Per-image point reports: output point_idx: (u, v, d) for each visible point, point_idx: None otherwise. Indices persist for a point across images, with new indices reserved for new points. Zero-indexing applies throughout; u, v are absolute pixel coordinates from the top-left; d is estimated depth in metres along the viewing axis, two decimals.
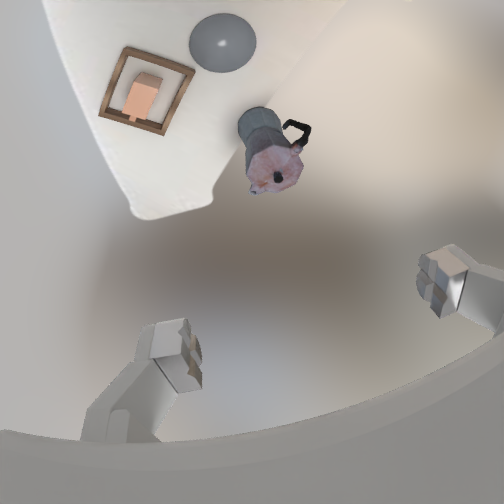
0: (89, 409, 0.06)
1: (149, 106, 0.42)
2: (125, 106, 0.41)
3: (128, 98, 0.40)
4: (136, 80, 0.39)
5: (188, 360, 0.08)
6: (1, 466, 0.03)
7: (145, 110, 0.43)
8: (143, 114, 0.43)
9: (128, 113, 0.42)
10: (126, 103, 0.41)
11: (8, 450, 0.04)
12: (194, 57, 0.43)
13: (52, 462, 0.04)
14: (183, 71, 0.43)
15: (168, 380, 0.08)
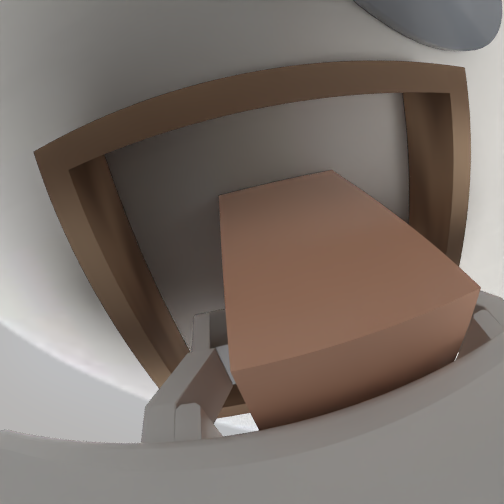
0: (147, 406, 0.06)
1: None
2: None
3: None
4: (241, 319, 0.05)
5: None
6: (1, 466, 0.03)
7: None
8: None
9: None
10: None
11: (8, 450, 0.04)
12: (391, 12, 0.07)
13: (52, 462, 0.04)
14: (424, 77, 0.07)
15: (226, 370, 0.08)
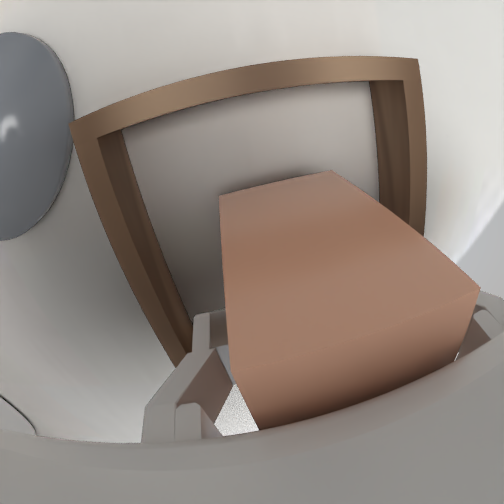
0: (147, 406, 0.06)
1: None
2: None
3: None
4: (241, 319, 0.05)
5: None
6: (1, 466, 0.03)
7: None
8: None
9: None
10: None
11: (8, 450, 0.04)
12: (58, 162, 0.11)
13: (52, 462, 0.04)
14: (94, 169, 0.10)
15: (226, 370, 0.08)
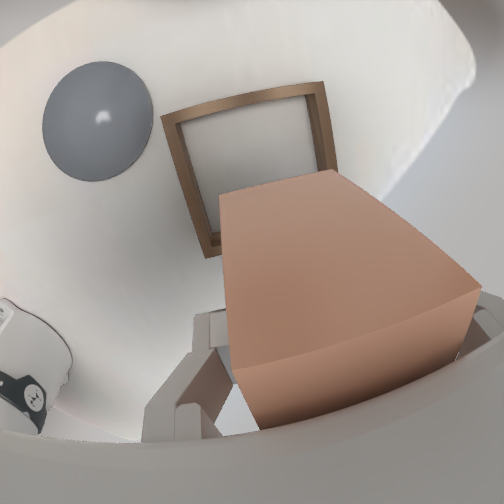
0: (147, 406, 0.06)
1: None
2: None
3: None
4: (242, 318, 0.05)
5: None
6: (1, 466, 0.03)
7: None
8: None
9: None
10: None
11: (8, 450, 0.04)
12: (144, 136, 0.24)
13: (52, 462, 0.04)
14: (172, 137, 0.23)
15: (226, 370, 0.08)
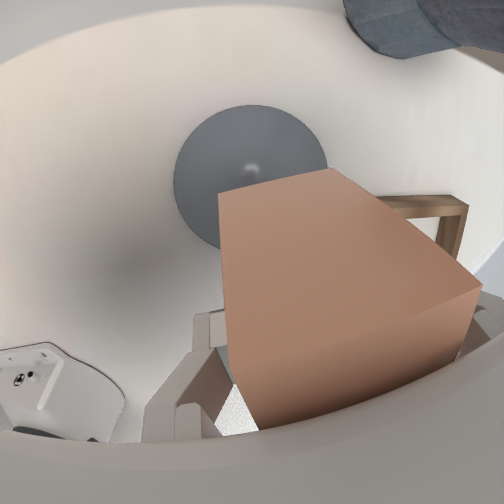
0: (147, 406, 0.06)
1: None
2: None
3: None
4: (241, 316, 0.05)
5: None
6: (1, 466, 0.03)
7: None
8: None
9: None
10: None
11: (8, 450, 0.04)
12: None
13: (52, 462, 0.04)
14: None
15: (226, 370, 0.08)
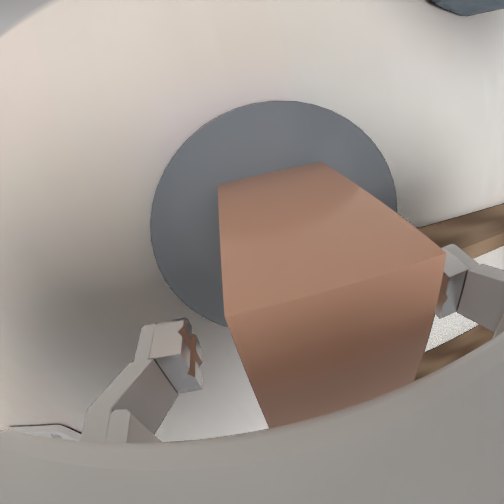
0: (89, 409, 0.06)
1: (414, 361, 0.07)
2: None
3: (269, 403, 0.07)
4: (235, 277, 0.06)
5: (188, 360, 0.08)
6: (1, 466, 0.03)
7: (399, 383, 0.07)
8: None
9: None
10: (275, 419, 0.07)
11: (8, 450, 0.04)
12: None
13: (52, 462, 0.04)
14: None
15: (168, 380, 0.08)
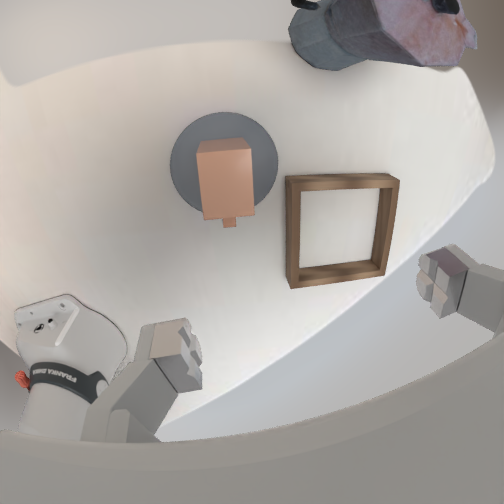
0: (88, 409, 0.06)
1: (250, 187, 0.25)
2: (205, 206, 0.25)
3: (203, 189, 0.24)
4: (200, 151, 0.24)
5: (188, 360, 0.08)
6: (1, 466, 0.03)
7: (247, 197, 0.25)
8: (246, 206, 0.26)
9: (217, 216, 0.26)
10: (204, 199, 0.25)
11: (8, 450, 0.04)
12: (267, 190, 0.33)
13: (52, 462, 0.04)
14: (296, 201, 0.32)
15: (168, 380, 0.08)
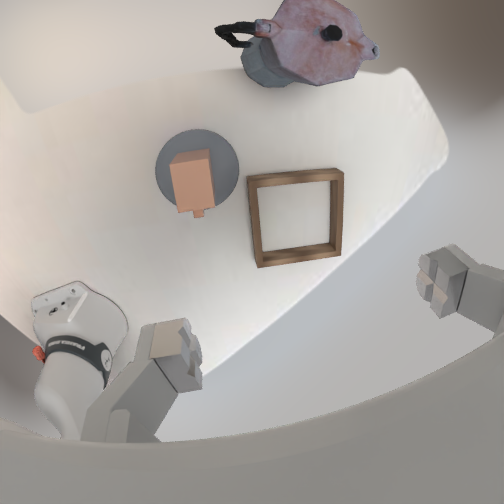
0: (89, 409, 0.06)
1: (209, 186, 0.34)
2: (178, 202, 0.34)
3: (176, 190, 0.33)
4: (172, 162, 0.33)
5: (188, 360, 0.08)
6: (1, 466, 0.03)
7: (208, 194, 0.34)
8: (208, 201, 0.34)
9: (187, 209, 0.35)
10: (177, 197, 0.34)
11: (8, 450, 0.04)
12: (232, 188, 0.42)
13: (52, 462, 0.04)
14: (253, 195, 0.41)
15: (168, 380, 0.08)
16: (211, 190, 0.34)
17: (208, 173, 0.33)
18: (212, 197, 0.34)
